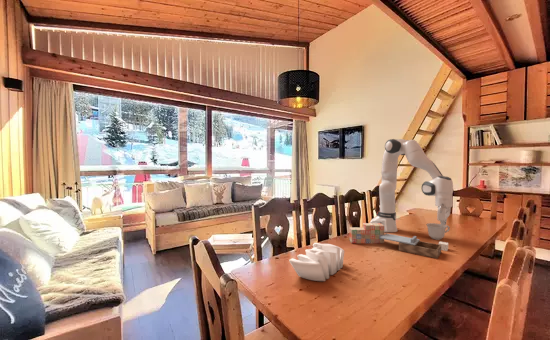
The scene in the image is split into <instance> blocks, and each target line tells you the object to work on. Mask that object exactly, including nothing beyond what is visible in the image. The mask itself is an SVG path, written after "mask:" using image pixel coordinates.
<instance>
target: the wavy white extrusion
mask: <svg viewBox="0 0 550 340" xmlns="http://www.w3.org/2000/svg"><path fill="white" fill-rule="evenodd" d="M296 257H297V259H296V258H290V259H289V260H288V261H289V263H290V265H291V266H292V268H293V270H294V271H295V272H296V274H297V276H298V277H300V278H303V279H306V280H310V281H315V282H316V281H317V282H326V280H329V279H330V276H333V275H335V274H336V273H338V272H337V271H340V269H342V268H343V267H344V266H343V265H344V260H345V259H344V257H345V250H344V249H343V248H341V247H340V246H338V245H335V244H331V243H320V242H313V244H312V248H308V249H305V254H302V253H300V254H297V255H296Z"/></svg>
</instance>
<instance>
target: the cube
mask: <svg viewBox="0 0 550 340" xmlns="http://www.w3.org/2000/svg"><path fill="white" fill-rule="evenodd" d="M438 245H441V251H444V252H448V251H449V242H445V241H439V242H438Z"/></svg>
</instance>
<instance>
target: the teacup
mask: <svg viewBox="0 0 550 340" xmlns="http://www.w3.org/2000/svg"><path fill="white" fill-rule="evenodd" d="M426 226H427V232H428V233H427V235H428V236H429V237H430V238H431V239H432V240H437V241H438V240H439V241H440V240H442V239H443V238H444V237H445V234H446V233H449V231H450V226H449V225H447V224H446V225H445V226H444V227H441V223H434V222H433V223H432V222H429V223H426Z"/></svg>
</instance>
